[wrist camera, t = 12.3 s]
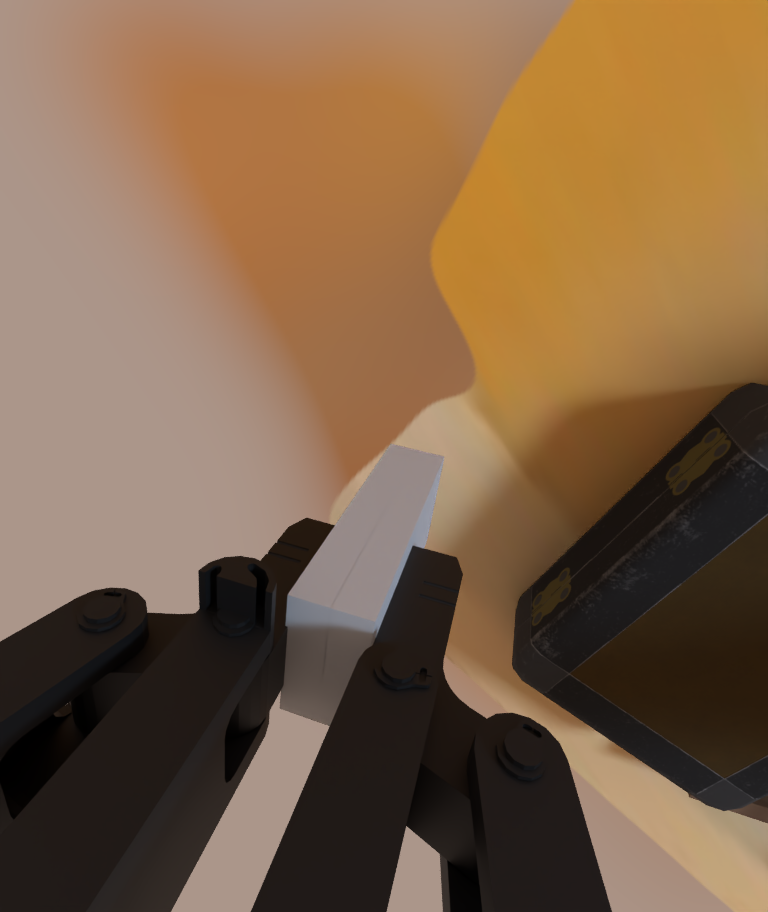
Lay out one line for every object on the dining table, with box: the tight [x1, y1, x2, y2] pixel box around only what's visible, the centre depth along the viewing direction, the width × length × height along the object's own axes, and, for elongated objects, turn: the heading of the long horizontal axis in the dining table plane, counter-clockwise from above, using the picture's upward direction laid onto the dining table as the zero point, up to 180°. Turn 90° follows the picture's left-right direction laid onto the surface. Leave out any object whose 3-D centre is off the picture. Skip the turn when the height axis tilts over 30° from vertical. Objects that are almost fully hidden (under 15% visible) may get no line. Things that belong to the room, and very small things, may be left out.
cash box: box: [512, 383, 768, 811], centre depth 36 cm, size 25×20×8 cm
